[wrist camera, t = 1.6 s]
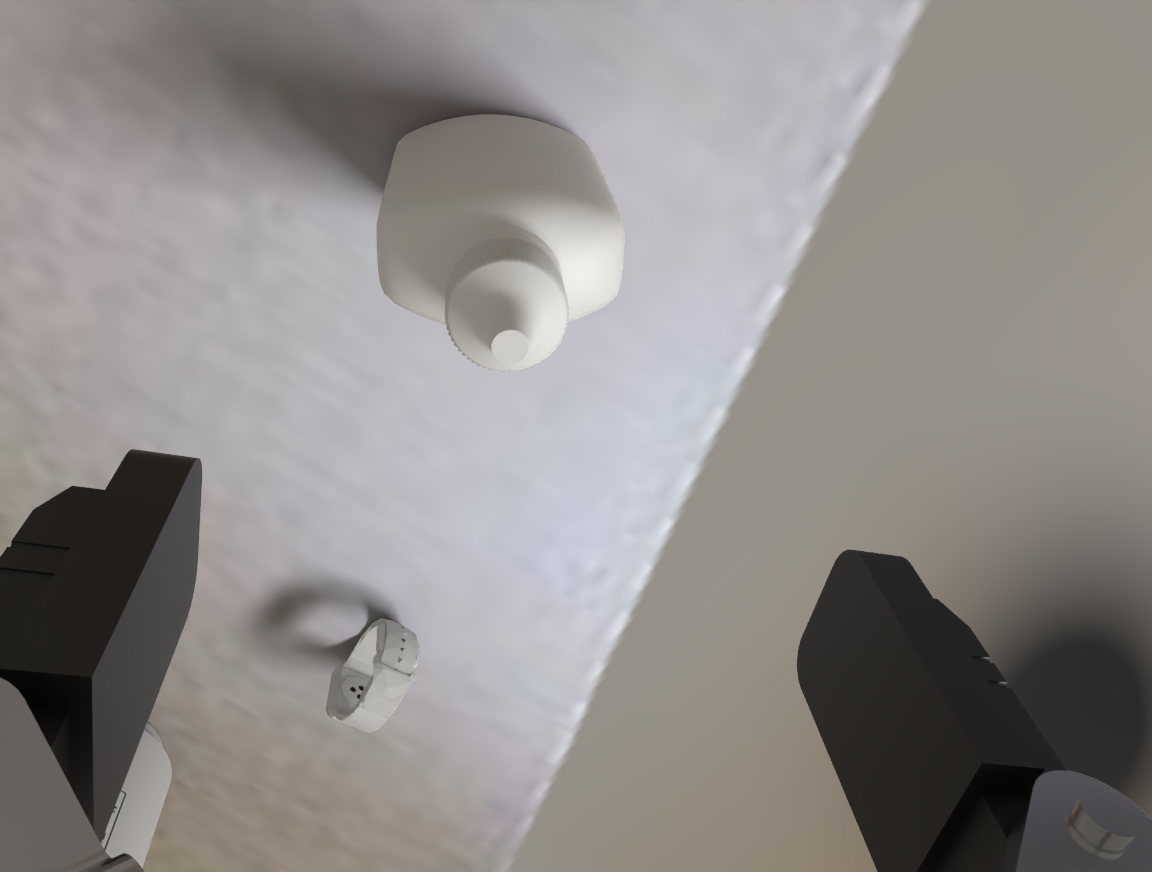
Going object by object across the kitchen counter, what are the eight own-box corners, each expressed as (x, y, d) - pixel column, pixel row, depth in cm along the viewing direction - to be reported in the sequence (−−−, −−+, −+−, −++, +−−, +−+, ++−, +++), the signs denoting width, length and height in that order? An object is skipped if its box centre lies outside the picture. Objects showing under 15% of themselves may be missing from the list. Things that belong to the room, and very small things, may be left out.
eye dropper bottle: (539, 281, 30) (578, 497, 19) (372, 189, 28) (313, 374, 17) (616, 157, 28) (703, 320, 17) (443, 50, 26) (427, 163, 16)
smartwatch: (383, 591, 35) (372, 670, 31) (433, 615, 36) (428, 695, 32) (333, 654, 36) (317, 736, 33) (382, 676, 37) (372, 759, 34)
